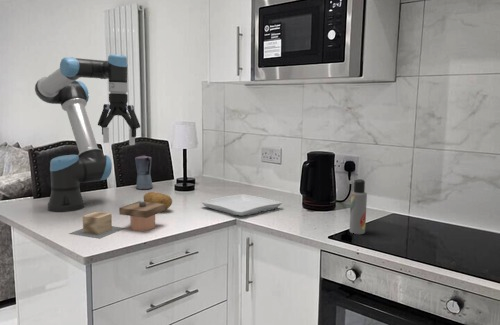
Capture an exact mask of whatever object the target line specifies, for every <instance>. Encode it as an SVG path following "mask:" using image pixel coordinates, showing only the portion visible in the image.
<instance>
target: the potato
mask: <svg viewBox="0 0 500 325" xmlns="http://www.w3.org/2000/svg"><path fill="white" fill-rule="evenodd" d="M143 201H144V202H150V203H158V204H165V211H166V210H167V209H169V208H170V207H171V206H172V204H173V198H172V197H171V196H170V195H169V194H164V193H162V192H155V191H148V192H146V193H145V194H144V195H143Z"/></svg>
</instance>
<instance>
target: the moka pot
mask: <svg viewBox="0 0 500 325" xmlns="http://www.w3.org/2000/svg"><path fill="white" fill-rule="evenodd" d="M152 158H153V157H151V156H146V154H145V152H141V155H139V156H136V157H135V158H134V161H135V166H136V168H135V169H136V172H137V173H136V174H137V176H136V185H135V186H136V187H135V188H136V190H148V189H153V181H152V176H151V171H152V170H151V169H152Z"/></svg>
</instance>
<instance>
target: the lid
mask: <svg viewBox="0 0 500 325" xmlns="http://www.w3.org/2000/svg"><path fill="white" fill-rule="evenodd" d="M118 211H119V212H118V213H119V214H118V215H121V216H128V217H130V216H135V217H143V218H148V217H150V216H153V215H155V216H156V215H157V214H160V213H162V212H165V211H166V210H165V204H158V203H150V202H144V200H143V201H142V200H141V201H140V200H139V201H135V202H133V203H129V204H127V205H124V206H120V207H119V210H118Z"/></svg>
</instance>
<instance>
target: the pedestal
mask: <svg viewBox="0 0 500 325" xmlns="http://www.w3.org/2000/svg"><path fill="white" fill-rule="evenodd" d="M112 218H113V217H112V213H108V212H103V211H95V212H91V213H88V214H85V215H82V229H83V232H85V233H92V234H98V235H99V234H101V233H104V232H107V231H109V230H112V226H113V222H112Z"/></svg>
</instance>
